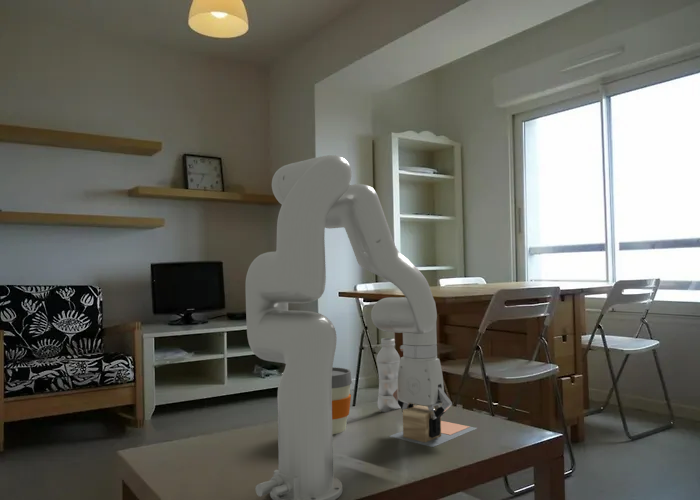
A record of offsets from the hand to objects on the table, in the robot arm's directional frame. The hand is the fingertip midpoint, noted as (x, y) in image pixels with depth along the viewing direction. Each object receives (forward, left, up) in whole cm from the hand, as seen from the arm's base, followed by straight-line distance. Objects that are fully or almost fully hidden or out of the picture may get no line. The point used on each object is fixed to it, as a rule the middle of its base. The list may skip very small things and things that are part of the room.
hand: (422, 432), depth 121 cm
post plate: (+4, 0, -2) cm, 5 cm away
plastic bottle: (+16, +23, -3) cm, 28 cm away
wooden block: (0, 0, -1) cm, 1 cm away
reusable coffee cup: (-10, +21, -3) cm, 23 cm away
